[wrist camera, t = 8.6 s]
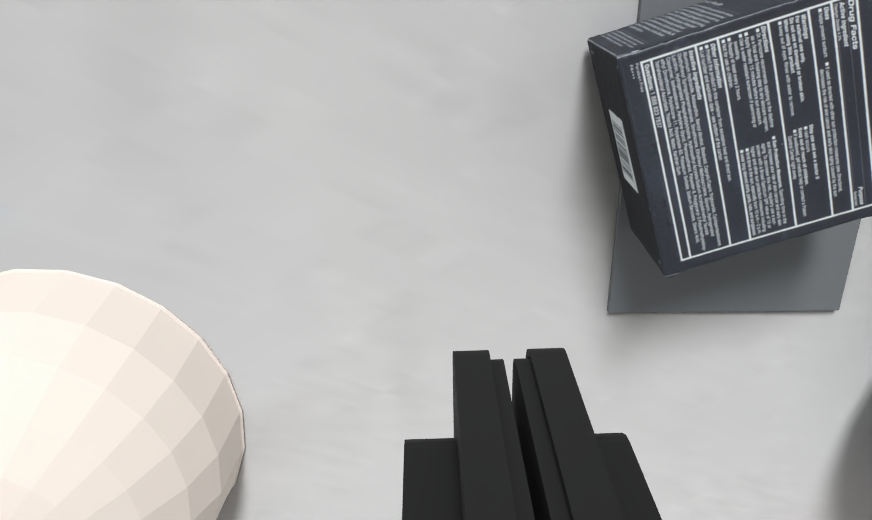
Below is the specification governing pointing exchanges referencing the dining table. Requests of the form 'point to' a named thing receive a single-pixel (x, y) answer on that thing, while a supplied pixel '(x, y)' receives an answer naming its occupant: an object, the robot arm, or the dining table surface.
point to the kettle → (109, 406)
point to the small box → (739, 124)
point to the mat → (731, 262)
